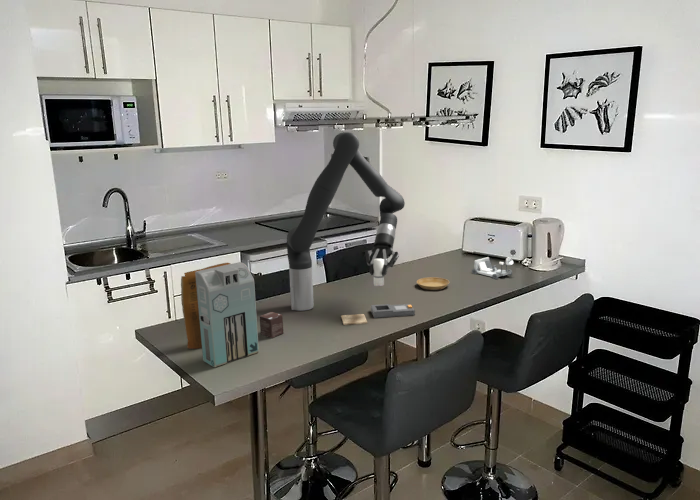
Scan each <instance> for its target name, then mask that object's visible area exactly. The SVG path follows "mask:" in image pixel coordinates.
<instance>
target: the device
mask: <svg viewBox="0 0 700 500" xmlns="http://www.w3.org/2000/svg"><path fill="white" fill-rule="evenodd" d="M195 275H196V286H197V297H198V308H199V319H200V330H201V341H202V348H201V350H202V361H203V362H204V363H206V364H208V365H209V366H211V367H213V368H217V367H220V366H222V365H223V366H224V365H226V364H229V363H231V362H235V361H238V360H240V359H242V358H246V357H248V356H252V355H255V354H257V353H259V350H260V348H259V337H258V336H259V335H258V334H259V333H258V321H257V320H258V319H257V306H256V291H255V290H256V288H255V279H254V276H253V275H252V273H251V271H250V270H249V267H248V266H247V265H246V264H245V263H244V262H241V261H238V262H233V263H231V264H228V265H224V266H219V267H214V268H210V269H205V270H200V271H196V272H195Z"/></svg>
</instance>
